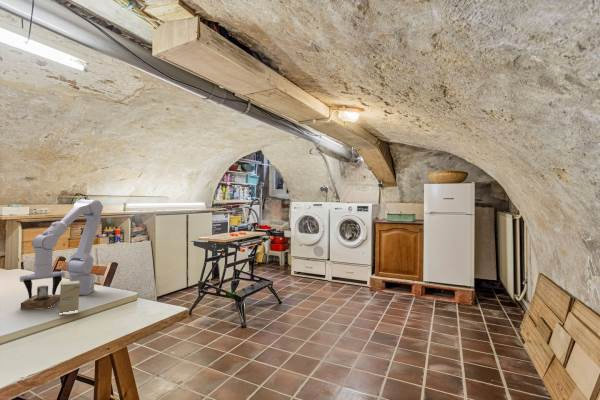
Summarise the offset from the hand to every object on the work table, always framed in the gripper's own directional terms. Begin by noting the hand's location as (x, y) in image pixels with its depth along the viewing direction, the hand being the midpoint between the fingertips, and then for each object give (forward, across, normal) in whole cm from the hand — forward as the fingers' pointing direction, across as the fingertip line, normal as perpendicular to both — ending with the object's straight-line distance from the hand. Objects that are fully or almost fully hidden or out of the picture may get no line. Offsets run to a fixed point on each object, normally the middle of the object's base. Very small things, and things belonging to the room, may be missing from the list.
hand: (42, 295), depth 134 cm
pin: (+3, 0, 0) cm, 3 cm away
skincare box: (+4, -6, +17) cm, 18 cm away
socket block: (+4, 0, 0) cm, 4 cm away
